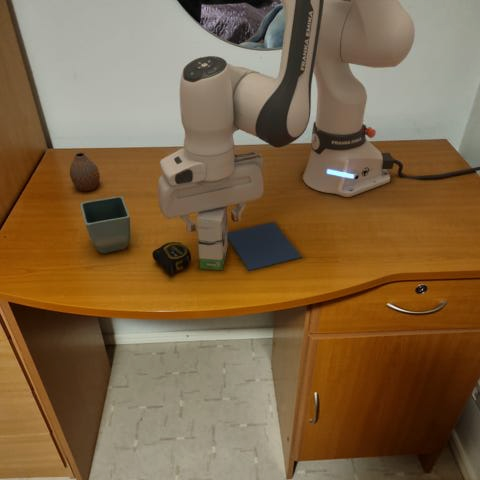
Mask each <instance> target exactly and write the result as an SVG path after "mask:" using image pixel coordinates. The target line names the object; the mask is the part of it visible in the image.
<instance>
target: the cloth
mask: <svg viewBox="0 0 480 480" xmlns="http://www.w3.org/2000/svg"><path fill="white" fill-rule="evenodd" d="M227 241H228V242H229V243H230V245H231V247H232V248H233V250H234V251H235V253H236V255H238V257H239V259H240V261H241V262H242V263H243V265H244V267H245V268H246V269H247V271H248V272H252V271H256V270H259V269H264V268H269V267H272V266H276V265H280V264H284V263H287V262H291V261H292V262H293V261H296V260H299V259H302V258H303V256H302V255H301V254H300V253H299V251H298V250H297V249H296V247H295V246H294V245H293V243H291V241H290V240H289V239H288V238H287V237H286V235H285V234H284V233H283V232H282V230H281V229H280V228H279V226H278V225H277V224H276V223H275V221H272V222H268V223H263V224H259V225H254V226H250V227H245V228H241V229H236V230H233V231H227Z"/></svg>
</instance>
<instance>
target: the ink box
mask: <svg viewBox="0 0 480 480" xmlns="http://www.w3.org/2000/svg"><path fill="white" fill-rule="evenodd" d="M196 231H197V233H196V234H197V243H198V244H197V246H198V247H197V249H198V262H199V269H200V270H207V271H223V269H224V265H225V260H226V256H227V252H228V239H227V232H228V206H225V207H220V208H216V209H211V210H207V211H202V212H198V213H197V217H196Z"/></svg>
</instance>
